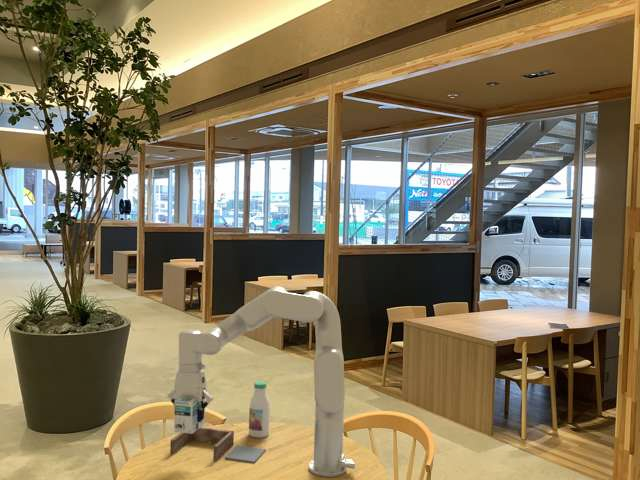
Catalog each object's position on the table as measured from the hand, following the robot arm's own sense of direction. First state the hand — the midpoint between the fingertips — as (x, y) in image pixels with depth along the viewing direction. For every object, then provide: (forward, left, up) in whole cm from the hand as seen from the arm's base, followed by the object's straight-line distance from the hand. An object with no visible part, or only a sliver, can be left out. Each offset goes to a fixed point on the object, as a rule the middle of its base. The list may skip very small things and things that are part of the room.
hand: (190, 419), depth 197 cm
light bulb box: (0, 0, -3) cm, 3 cm away
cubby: (0, -11, -15) cm, 19 cm away
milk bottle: (-14, -31, -15) cm, 37 cm away
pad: (-16, -12, -15) cm, 25 cm away
